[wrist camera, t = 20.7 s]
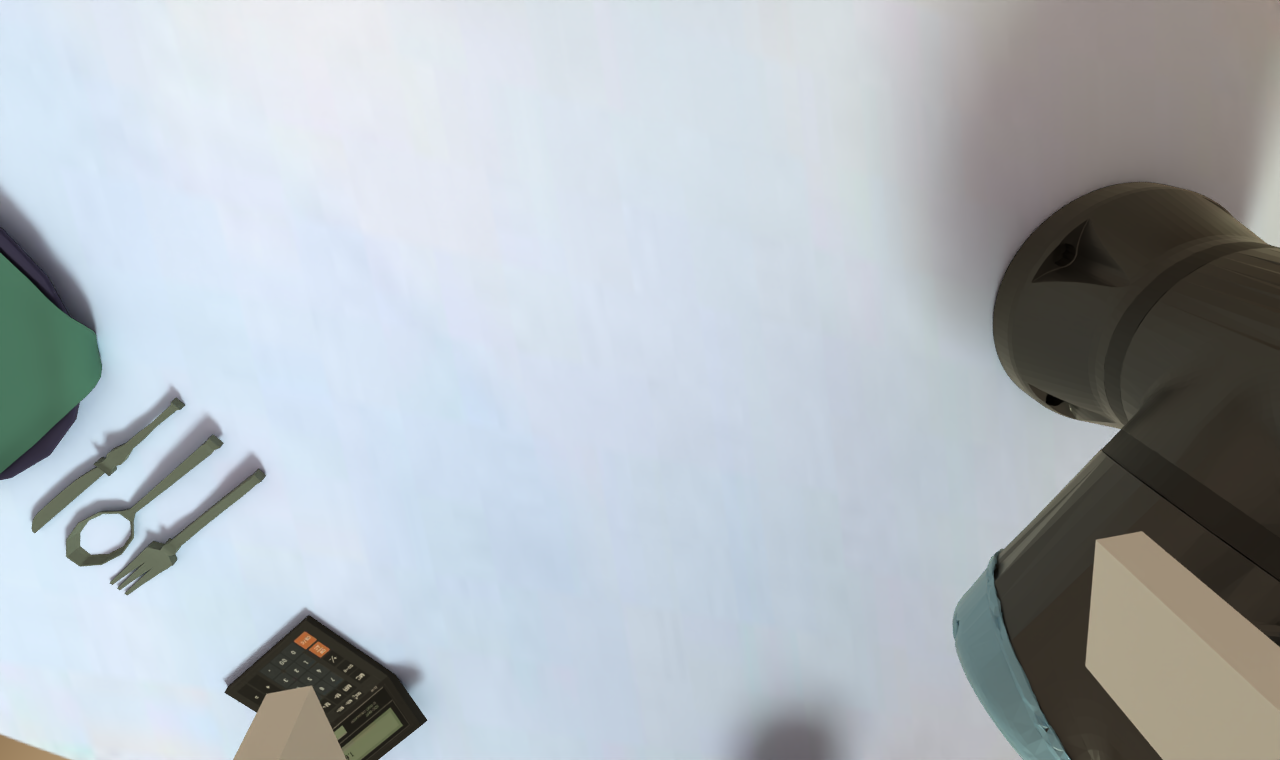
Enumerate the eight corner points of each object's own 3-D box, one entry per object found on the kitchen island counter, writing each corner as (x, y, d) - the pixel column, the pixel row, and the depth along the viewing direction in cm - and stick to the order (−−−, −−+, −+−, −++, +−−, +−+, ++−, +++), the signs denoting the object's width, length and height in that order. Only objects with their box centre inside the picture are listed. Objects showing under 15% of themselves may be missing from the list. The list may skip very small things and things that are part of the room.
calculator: (310, 612, 54) (295, 641, 51) (432, 696, 58) (425, 728, 55) (229, 683, 56) (211, 715, 53) (353, 760, 60) (342, 794, 57)
